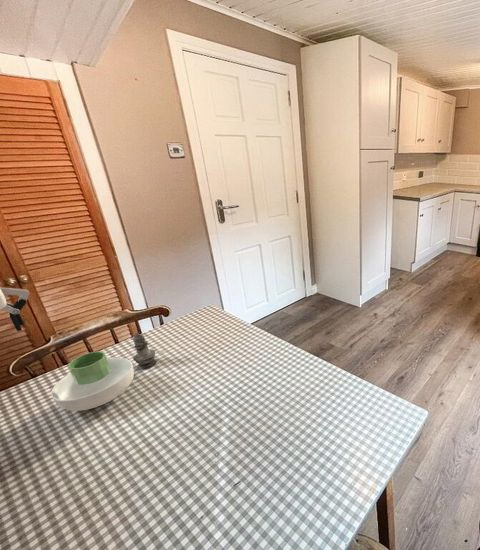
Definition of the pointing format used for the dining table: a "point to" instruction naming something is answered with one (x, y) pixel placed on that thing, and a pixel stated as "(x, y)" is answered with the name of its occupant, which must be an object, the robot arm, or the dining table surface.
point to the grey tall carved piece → (143, 353)
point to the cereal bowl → (94, 387)
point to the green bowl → (89, 367)
